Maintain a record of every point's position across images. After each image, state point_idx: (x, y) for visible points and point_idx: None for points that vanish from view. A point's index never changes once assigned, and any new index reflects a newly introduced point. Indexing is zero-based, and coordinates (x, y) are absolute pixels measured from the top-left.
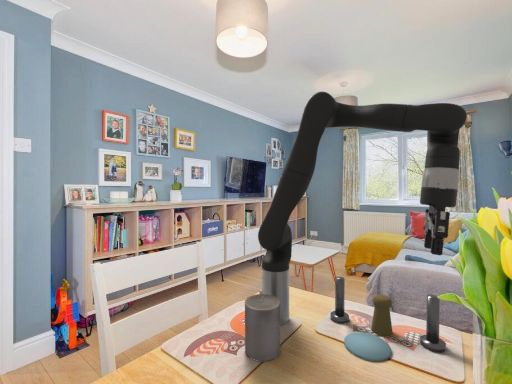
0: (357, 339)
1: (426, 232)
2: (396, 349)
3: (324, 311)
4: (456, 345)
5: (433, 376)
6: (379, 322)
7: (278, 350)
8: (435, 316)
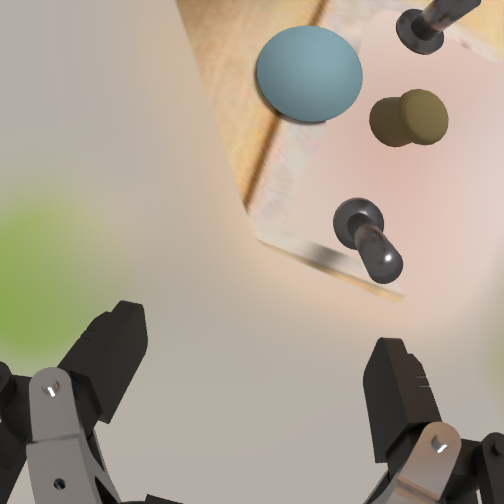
0: (323, 53)
1: (414, 439)
2: (321, 136)
3: None
4: None
5: (245, 186)
6: (383, 108)
7: None
8: (357, 247)
